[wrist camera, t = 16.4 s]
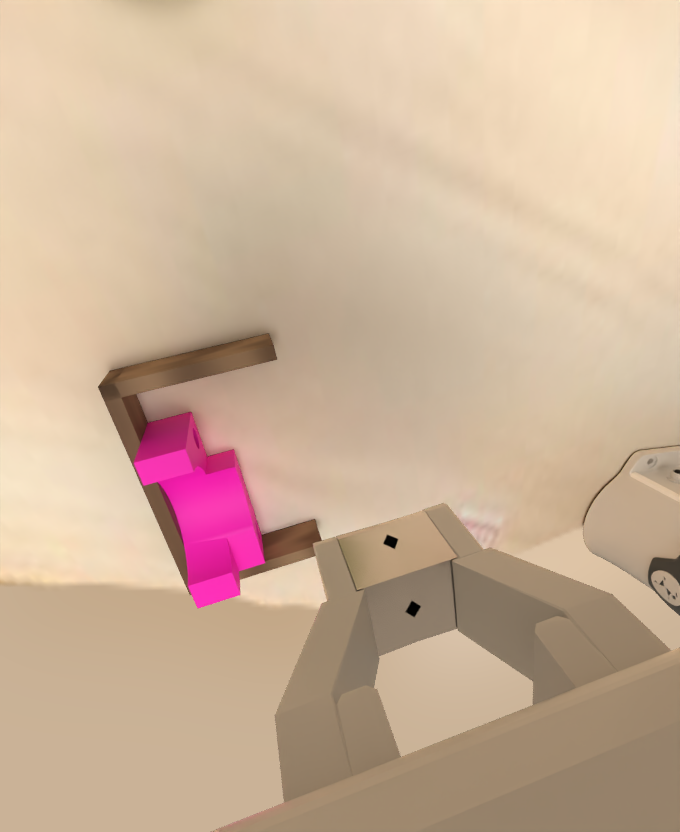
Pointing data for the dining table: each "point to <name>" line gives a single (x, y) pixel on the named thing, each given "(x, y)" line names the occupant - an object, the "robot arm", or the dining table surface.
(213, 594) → the toy block
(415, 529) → the robot arm
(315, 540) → the walnut bay
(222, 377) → the dining table surface
